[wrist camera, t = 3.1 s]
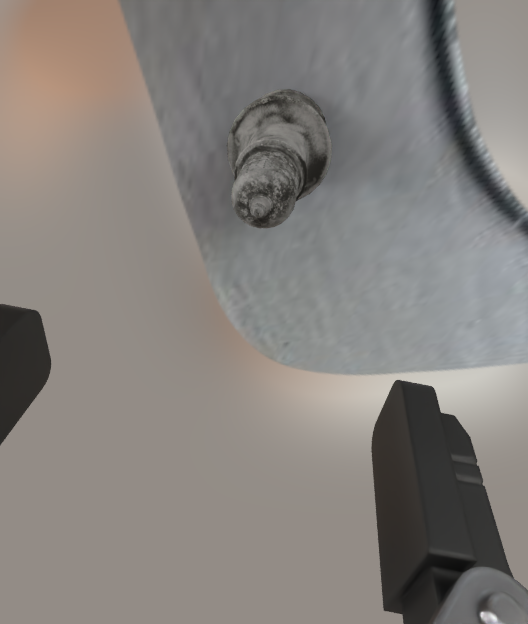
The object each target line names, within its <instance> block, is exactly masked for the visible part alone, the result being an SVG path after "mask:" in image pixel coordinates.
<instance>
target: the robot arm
mask: <svg viewBox="0 0 528 624" xmlns="http://www.w3.org/2000/svg"><path fill="white" fill-rule="evenodd" d="M50 369H51V358H50V354H49V349H48V345H47V341H46V336H45V332H44V328H43V323H42V319H41V316H40V314H39V313H38V312H37V311H36V310H31V309H26V308H21V307H15V306H10V305H5V304H0V445H1V443H2V442H3V441H4V439H5V438H6V437H7V435H8V434H9V433H10V431H11V430H12V429H13V427H14V426H15V424H16V423H17V422H18V421H19V419H20V418H21V417H22V415H23V414H24V412H25V411H26V410H27V408H28V407H29V406H30V404H31V403H32V402H33V400H34V399H35V398H36V396H37V395H38V394H39V392H40V391H41V390H42V388H43V387H44V385H45V384H46V382H47V379H48V377H49V374H50ZM372 462H373V475H374V489H375V502H376V515H377V529H378V542H379V554H380V568H381V582H382V595H383V608H384V611H389V612H394V613H399V614H403V623H404V624H528V590H527V589H526V588H525V587H523V586H522V585H521V584H520V583H519V582H518V581H516V580H515V579H514V577H513V575H512V573H511V571H510V568H509V565H508V563H507V560H506V556H505V553H504V549H503V546H502V542H501V539H500V536H499V532H498V529H497V526H496V522H495V519H494V516H493V513H492V509H491V506H490V502H489V499H488V496H487V492H486V489H485V486H483V485H482V483H483V479H482V475H481V473H480V469H479V466H477V464H476V463H477V459H476V455H475V452H474V449H473V446H472V443H471V439H470V437H469V435H468V434H467V432H466V431H465V430H464V428H463V427H462V425H461V424H460V423H459V421H458V420H457V419H456V417H455V416H454V415H449V414H444V413H441V412H440V408H439V404H438V400H437V396H436V392H435V390H434V388H433V387H432V386H428V385H422V384H417V383H411V382H406V381H401V380H396V381H395V382H394V384H393V386H392V388H391V390H390V392H389V395H388V397H387V399H386V401H385V404H384V406H383V408H382V410H381V412H380V415H379V417H378V420H377V422H376V424H375V427H374V431H373V437H372Z"/></svg>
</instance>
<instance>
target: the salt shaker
mask: <svg viewBox="0 0 528 624" xmlns="http://www.w3.org/2000/svg"><path fill="white" fill-rule="evenodd" d="M331 149H332V145H331V140H330V135H329V131H328V129H327V127H326V122H325V118H324V116H323V114H322V112H321V110H320V108H319V107H318V106H317V105H316V104H315V103H314V101H313V100H312V99H311V98H309V97H307V96H306V95H304V94H303V93H300V92H297V91H293V90H276V91H273V92H270V93H267V94H265V95H264V96H262V97H261V98H259V99H258V100H256V101H254V102H253V103H251V104H250V105H248V106H247V107H245V108H244V110H243V111H242V112H241V113H240V114H239V115H238V117H237V118H236V119H235V121H234V123H233V126H232V128H231V130H230V132H229V138H228V144H227V151H228V160H229V163H230V166H231V169H232V172H233V174H234V176H235V182H234V184H233V187H232V192H231V198H232V205H233V208H234V211H235V212H236V214H237V215H238V217H239V218H240V219H242V220H243V221H244V222H245V223H247V224H249V225H251V226H253V227H257V228H271V227H275V226H277V225H279V224H281V223H282V222H284V221H285V220H286V219H287V218H288V217H289V215H290V214H291V212H292V211H293V209H294V205H295V202H296V201H297V200H299V199H301V198H303V197H304V196H306V195H308V194H310V193H311V192H312V191H313V190H314V189H315V188H316V187H318V186H319V185H320V183H321V181H322V180H323V178H324V177H325V175H326V174H327V171H328V168H329V164H330V161H331Z"/></svg>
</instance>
